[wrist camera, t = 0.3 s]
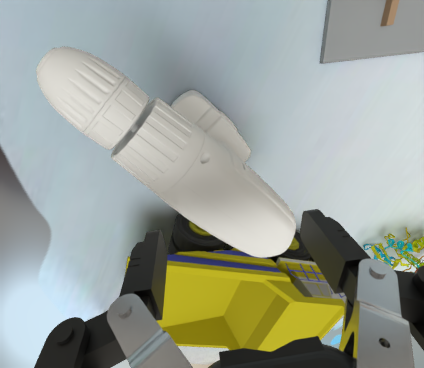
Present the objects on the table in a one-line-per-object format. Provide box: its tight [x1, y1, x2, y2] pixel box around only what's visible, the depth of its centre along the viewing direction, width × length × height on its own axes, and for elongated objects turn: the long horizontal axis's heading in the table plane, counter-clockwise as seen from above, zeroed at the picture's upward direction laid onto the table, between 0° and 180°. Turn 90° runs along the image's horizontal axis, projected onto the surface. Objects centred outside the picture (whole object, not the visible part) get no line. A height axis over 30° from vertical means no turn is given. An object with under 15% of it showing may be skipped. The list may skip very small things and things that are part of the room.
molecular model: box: [364, 227, 424, 273], centre depth 50 cm, size 23×21×15 cm
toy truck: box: [125, 214, 346, 352], centre depth 45 cm, size 24×40×20 cm, turn 74°
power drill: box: [36, 47, 296, 258], centre depth 27 cm, size 8×24×25 cm, turn 45°
